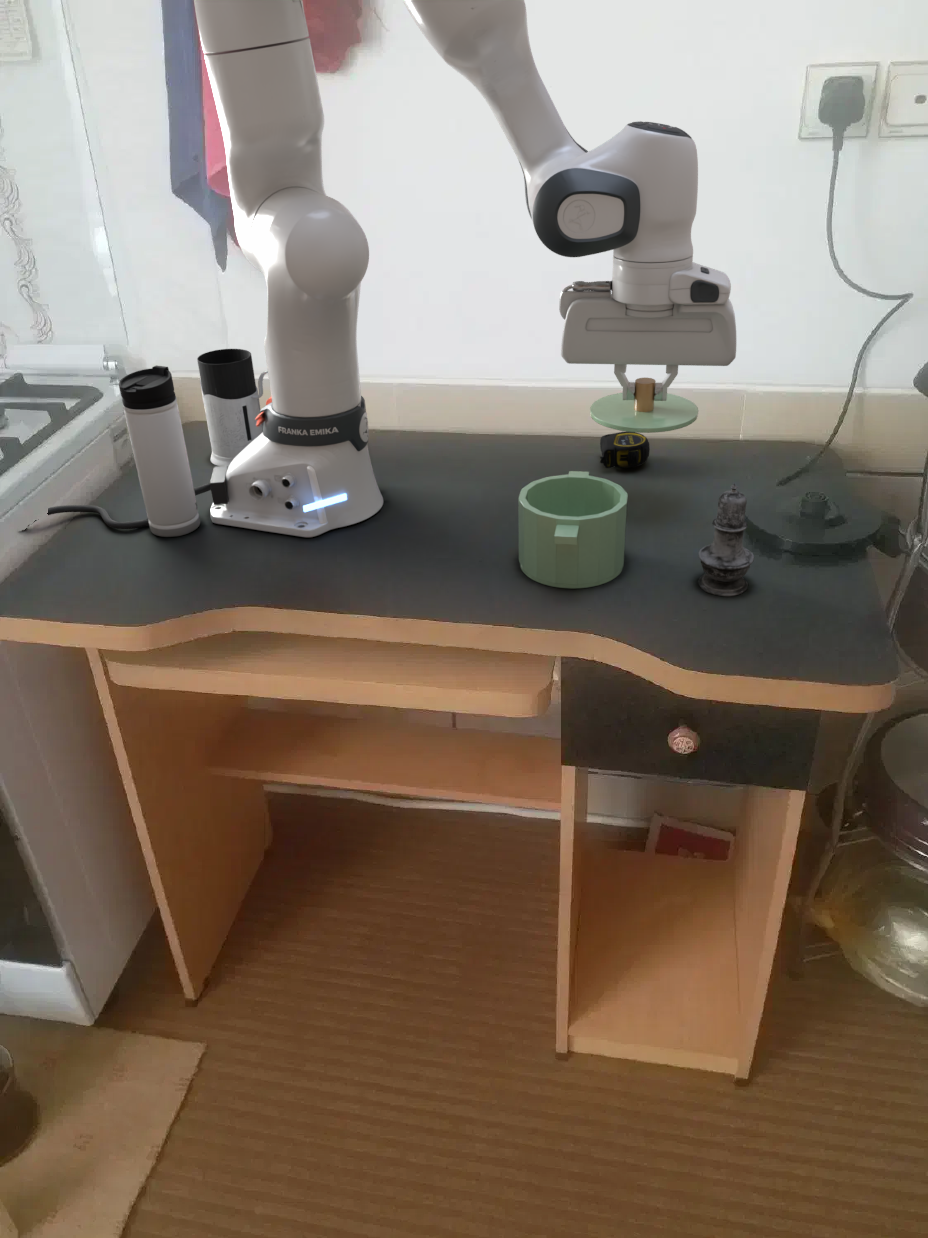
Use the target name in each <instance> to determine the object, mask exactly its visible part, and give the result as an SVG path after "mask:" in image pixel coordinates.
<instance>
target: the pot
mask: <svg viewBox="0 0 928 1238" xmlns="http://www.w3.org/2000/svg"><path fill="white" fill-rule="evenodd" d="M628 496H629V494H628V493H627V491H626V490H625V488H623V487H622V486H621V485H620V484H619V483H616V482H613V481H612V480H609V479H607V478H604V477H603V478H602V477H598V476H593V475H590V471H582V470H581V471H579V470H569V471H568V474H560V475H559V474H558V475H551V476H546V477H542V478H539V479H536V480H533V481H531V482H530V483H528V484H526V485H525V486H524V487H523V488H521V489H520V492H519V495H518V497H517V498H518V501H517V502H518V504H517V506H518V509H517V510H518V511H517V512H518V514H517V515H518V516H517V517H518V521H517V522H518V562H519V567H520V570H521V571H522V573H523V574H524V576H526V577H528V578H529V579H531V580H532V581H535V582H536V583H539V584H542V585H544V586H548V587H553V588H560V589H586V588H593V587H597V586H601V585H603V584H606V583H609V582H611V581H612V580H615V579H616V578H617V577H618V576H619V575H620V574H621V573H622V571H623V569H624V565H625V552H626V551H625V550H626V536H627V535H626V533H627V516H628V515H627V514H628V512H627V511H628V498H629V497H628Z"/></svg>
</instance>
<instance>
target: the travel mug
mask: <svg viewBox="0 0 928 1238" xmlns="http://www.w3.org/2000/svg"><path fill="white" fill-rule="evenodd" d="M118 388H119V393H120V397H121V403H122V408H123V412H124V413H123V414H124V418H125V423H126V426H127V430H128V435H129V441H130V444H131V449H132V453H133V459H134V464H135V467H136V472H137V476H138V481H139V485H140V490H141V495H142V498H143V503H144V507H145V512H146V518H147V519H149V526H148V527H149V530H150V532H151V533H152V534H153V535H155V536H157V537H162V538H175V537H182V536H185V535H187V534H190V533H193V532H194V531H196V530H197V529H198V527H200V525H201V518H200V513H199V508H198V503H197V498H196V496H195V492H194V488H195V487H194V482H193V476H192V472H191V465H190V461H189V457H188V456H189V455H188V450H187V446H186V445H187V444H186V441H185V440H186V439H185V436H184V430H183V423H182V420H181V414H180V408H179V404H178V399H177V396H176V392H175V385H174V381H173V376H172V373H171V371H170V369H169V367H168V366H164V365H154V366H152V367H151V368H144V369H140V370H137V371H133V372H131V373H128V374H127V375H125V376H123V377H122V378H121V379H120V380H119V381H118Z"/></svg>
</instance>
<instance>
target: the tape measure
mask: <svg viewBox="0 0 928 1238" xmlns="http://www.w3.org/2000/svg"><path fill="white" fill-rule="evenodd" d="M599 440H600V441H599V442H600V443H599V447H600V452H601V456H599V458H600V461H599V463H600V464H602V465H603V467H605V468H606V469H609V468H611V469H612V468H615V467H617V468H623V469H625V468H626V469H629V468H637V467H639V466H642V465H643V464H645V463H646V462H647V461H648V460H649V459H648V458H649V457H650V442H649V440H648V438H647V437H646V436H645V435H644V434H643V433H637V432H627V431H619V432H614V433H608V434H605V435H602V436H601V437H600V439H599Z"/></svg>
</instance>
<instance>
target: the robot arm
mask: <svg viewBox="0 0 928 1238" xmlns="http://www.w3.org/2000/svg"><path fill="white" fill-rule="evenodd" d="M193 3H194V10H195V11H194V12H195V18H196V23H197V29H198V34H199V38H200V42H201V47H202V51H203V56H204V60H205V61H204V62H205V65H206V70H207V74H208V78H209V82H210V86H211V90H212V94H213V99H214V103H215V106H216V107H215V108H216V111H217V115H218V119H219V125H220V128H221V133H222V138H223V144H224V149H225V158H226V167H227V176H228V177H227V178H228V184H229V192H230V200H231V206H232V211H233V212H232V213H233V218H234V230H235V235H236V239H237V242H238V245H239V247H240V250H241V252H242V254H243V255H244V257H245V258H246V260H247V261H248V262H249V264H250V265H251V266H252V267H254V269H256V270H257V271H259V272H260V273H261V274H263V277H264V280H265V285H266V289H267V290H266V292H267V317H266V319H267V321H266V334H265V337H264V340H263V341H264V342H263V349H264V354H265V355H264V356H265V361H266V370H268V373H267V377H268V383H269V390H270V391H269V392H270V397H269V398H267V399H266V401H265V406H263V407H262V408H260V409H261V410H260V414H259V415H258V416H257V417H256V418H255V420H258V421H257V424H256V426H257V427H259V426H260V425H262V429H263V432H262V433H261V434H260V435H259V436H258V437H257V438H255V439H254V440H253V441H252V442H251V443H250V444H249V445H247V446H246V447H245V448H244V449H243V450H242V451H241V452H240V453H239V454H238V455H237V456H236V457H235V458H234V459H233V460H232V462H231V463H230V465H229V467H228V466H213V470H212V474H211V478H210V481H209V482H208V483H205V484H202V485H199V486H197V487H194V492H195V497H196V496H198V495H200V494H201V495H202V494H204V493H207V492H209V491H210V492H211V497H212V503H211V506H210V520H211V522H212V523H214V524H217V525H224V526H231V527H237V528H244V529H249V530H256V531H262V532H267V533H268V532H269V533H275V534H282V535H288V536H295V537H300V538H313V537H317V536H320V535H322V534H325V533H327V532H329V531H331V530H335V529H338V528H344V527H347V526H351V525H355V524H357V523H360V522H363V521H365V520H367V519H369V518H372V516H374V515H375V514H377V513H378V512H379V511H380V510H381V509H382V507H383V505H384V497H383V495H382V493H381V490H380V488H379V485H378V482H377V479H376V475H375V473H374V469H373V466H372V465H373V464H372V461H371V456H370V452H369V445H368V443H369V438H370V437H369V436H370V428H369V427H370V426H369V418H368V412H367V408H366V400H365V397H364V396H362V390H361V382H360V381H361V380H360V367H359V356H358V344H357V343H358V341H357V333H358V332H357V331H358V330H357V329H358V317H359V316H358V315H359V306H360V297H361V296H360V295H361V286H362V281H363V279H364V277H365V275H366V273H367V270H368V267H369V262H370V248H369V247H370V246H369V242H368V239H367V236H366V233H365V231H364V229H363V228H362V226H361V224H360V222H359V221H358V220H357V219H356V217H355V216H354V214H353V213H351V211H350V210H349V209H348V208H347V207H346V206H345V205H344V204H343V203H341V201H338V200H337V199H335V198H333V197H331V196H328V195H327V194H326V190H325V186H324V181H323V160H322V159H323V155H322V154H323V153H322V152H323V151H322V146H323V145H322V142H323V132H324V128H325V113H324V110H323V104H322V98H321V94H320V87H319V83H318V77H317V71H316V66H315V61H314V56H313V55H314V54H313V50H312V45H311V38H310V37H309V36H310V33H309V29H308V23H307V18H306V13H305V10H304V9H305V7H304V1H303V0H193ZM402 3H403V4H404V5H405V8H406V10H407V11H408V13H409V14H410V17H412V19H413V21H414V23H415V24H416V26H417V27H418V29H419V30H420V31H421V33H422V34H423V36H424V37H425V38H426V40H427V41H428V43H429V44H430V45H431V47H432V48H433V50H435V51H436V53H437V54H438V55H439V56H440V58H441V59H442V60H443V61H444V62H445V63H446V64H447V66H449V67H450V68H451V69H453V70H455V71H456V72H457V73H459V74H460V76H462V77H463V78H465V79H466V80H467V81H468V82H469V83H470V84H471V85H472V86H473V87H475V88H474V89H476V90H477V91H478V92H479V94H480V95H481V96H482V98H484V100H485V102H486V103H487V105H488V106H489V108H490V110H491V111H492V113H493V115H494V118H495V120H496V121H497V123H498V125H499V126H500V128H501V130H502V132H503V134H504V136H505V138H506V139H507V141H508V143H509V145H510V147H511V149H512V150H513V153H514V154H515V156H516V158H517V160H518V163H519V165H520V168H521V171H522V174H523V181H524V194H525V195H524V196H525V204H526V208H527V211H528V214H529V217H530V219H531V221H532V225H533V228H534V230H535V233H536V235H537V237H538V239H539V240H540V241H541V244H543V245H544V247H546V248H547V249H548V250H549V251H550V252H552V253H555V254H556V255H558V256H561V257H566V258H582V257H586V256H587V257H588V256H593V255H596V254H597V255H598V254H601V253H606V252H609V251H612V250H613V251H612V252H613V253H612V274H611V277H612V279H611V280H596V281H585V280H584V281H583V280H576V281H573V282H572V284H570V285H567V286H566V287H564V288H563V289H562V291H561V292H560V295H559V313H560V317H562V319H563V320H564V322H563V323H564V324H563V327H562V328H563V329H562V335H561V346H560V347H561V348H560V356H561V357H562V359H563V360H564V361H565V362H566V363H567V364H569V365H570V364H574V365H576V364H577V365H613V367H614V369H613V370H614V371H613V373H614V375H615V377H616V379H617V381H618V383H619V385H620V386H621V388H622V392H621V393H622V400H634V399H635V381H629V379H628V378H627V375H626V374H625V373H627V365H632V366H633V365H634V366H635V365H637V366H638V365H639V366H641V365H642V366H643V365H644V366H665V373H666V375H665V377H664V379H663V380H662V382H656V383H655V395H654V401H666V399H667V393H668V388H670V386H671V385H672V383H673V382H674V381H675V379H676V377H677V376H678V374H679V366H701V367H702V366H703V367H707V366H708V367H728V366H730V365H731V364H732V363H733V361H734V360H735V359H736V356H737V326H736V325H737V323H736V315H735V311H734V306H733V303H732V302H731V299H730V296H731V290H732V284H731V280H730V278H729V276H728V275H727V273H725V272H723V271H721V270H718V269H715V268H711V267H709V266H706V265H703V264H699V263H696V262H694V261H693V259H694V246H693V242H692V241H693V240H692V229H693V228H692V227H693V223H694V220H695V219H696V214H697V205H698V191H699V190H698V189H699V187H698V186H699V161H698V160H699V157H698V150H697V149H698V148H697V145H696V142H695V140H694V139H693V138H692V136H691V135H690V134H688V133H687V132H686V131H685V130H684V129H681V128H679V127H677V126H672V125H669V124H666V123H665V124H664V123H659V122H654V121H653V122H652V121H641V120H639V121H633V122H629V123H627V124H626V125H625V126H624V127H623V128H622V129H621V130H619V132H618V133H616V134H615V135H614V136H612V137H611V138H610V139H608V140H606V141H605V142H603V143H602V144H600V145H598V146H596V147H595V148H593V149H591V150H589V151H588V149H586V148H585V147H583V146H582V145H581V144H579V143H578V142H577V141H576V140H575V138H574V137H573V136H572V135H571V134H570V132H569V131H568V129H567V127H566V126H565V124H564V122H563V120H562V118H561V115H560V113H559V112H558V110H557V107H556V105H555V104H554V101H553V100H552V98H551V96H550V94H549V91H548V89H547V87H546V85H545V83H544V82H543V80H542V76H540V73H539V71H538V68H537V65H536V63H535V60H534V56H533V52H532V48H531V44H530V37H529V28H528V17H527V16H528V15H527V6H526V2H525V0H402ZM571 289H572V290H571ZM47 508H48V513H47V514H48V516H51V515H55V514H65V513H93V514H98V515H100V517H101V518H102V520H103V522H104V523H105V524H106V525H107V526H108V527H110V528H112V529H116V530H134V529H142V528H145V527H146V528H147V527H150V526H149V519H148V518H145V519H141V520H134V521H117V520H114V519H113V518H111V516H110V514H109V513H108V511H107V510H106V509H105V508H104V507H101V506H98V505H93V504H92V505H91V504H90V505H89V504H67V505H56V506H51V507H47ZM37 521H38V520H35V521H34V522H33V523H32V524H34V523H35V522H37ZM26 530H28V528H26V529H25V530H24V531H23V532H25V531H26Z"/></svg>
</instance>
